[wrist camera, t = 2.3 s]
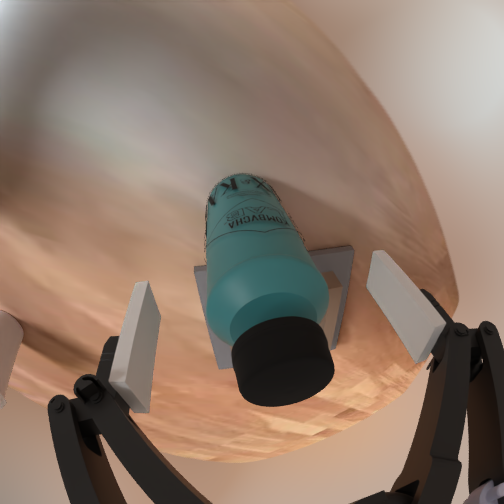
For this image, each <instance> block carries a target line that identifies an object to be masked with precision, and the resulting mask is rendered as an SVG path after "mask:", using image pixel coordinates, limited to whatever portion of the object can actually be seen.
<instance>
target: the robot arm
mask: <svg viewBox="0 0 504 504" xmlns="http://www.w3.org/2000/svg"><path fill="white" fill-rule="evenodd" d="M366 288H367V289H368V291H369V292H370V294H371V295H372V297H373V298H374V299H375V301H376V302H377V304H378V305H379V307H380V308H381V310H382V311H383V313H384V314H385V316H386V317H387V319H388V320H389V322H390V323H391V325H392V327H393V328H394V330H395V331H396V333H397V334H398V336H399V338H400V339H401V341H402V342H403V344H404V346H405V347H406V349H407V350H408V352H409V354H410V355H411V357H412V359H413V360H414V362H415V364H417V363H419V362H422V361H424V360H427V358H428V356H429V354H430V353H432V354H433V356H434V357H433V359H432V360H431V362H430V363H429V365H428V367H427V370H428V369H429V368H430V373H429V378H428V384H427V389H426V393H425V398H424V402H423V407H422V410H421V414H420V418H419V422H418V426H417V429H416V432H415V436H414V439H413V442H412V445H411V448H410V451H409V454H408V458H407V460H406V463H405V465H404V468H403V471H402V473H401V474H400V475H399V477H398V478H397V479H396V481H395V483H394V485H393V487H392V489H391V491H390V492H385V491H381V492H379V493H376V494H373V495H371V496H368V497H366V498H363V499H360V500H358V501H355V502H353V503H350V504H451V501H452V499H453V496H454V493H455V490H456V486H457V483H458V479H459V476H460V472H461V467H462V464H461V462H460V461H459V460H458V454H459V450H460V445H461V440H462V435H463V430H464V423H465V417H466V410H467V416H468V434H469V469H468V485H469V494H470V495H469V497H468V499H466V500H465V502H464V503H463V504H504V349H503V345H502V342H501V339H500V336H499V333H498V330H497V328H496V326H495V325H494V324H492V323H491V322H488V321H483V322H482V323H481V324H480V325H479V328H478V329H477V328H476V329H468V328H467V327H466V326H465V325H464V324H462V323H454V322H453V320H452V319H451V318H450V316H449V315H448V314H447V313H446V311H445V310H444V309H443V308H442V307H441V306H440V304H439V303H438V302H437V301H436V299H435V298H434V297H433V296H432V295H431V294H430V293H429V292H427V291H426V290H424V289H420V290H419V289H418V287H417V286H416V285H415V284H414V283H413V282H412V281H411V279H410V278H409V277H408V276H407V275H406V274H405V273H404V271H403V270H402V269H401V268H400V267H399V266H398V265H397V264H396V263H395V262H394V260H393V259H392V258H391V257H390V256H389V255H388V254H387V253H386V252H385V251H384V250H377V251H373V254H372V260H371V265H370V270H369V275H368V280H367V285H366ZM160 320H161V315H160V312H159V310H158V307H157V304H156V302H155V299H154V296H153V293H152V290H151V287H150V284H149V281H142V282H136V283H135V286H134V289H133V292H132V296H131V299H130V302H129V305H128V309H127V312H126V315H125V319H124V322H123V326H122V329H121V333H120V336H110V338H109V339H108V340H107V342H106V343H105V345H104V348H103V351H102V355H101V358H100V360H101V361H100V362H99V366H98V369H97V373H96V376H95V375H92V374H85V375H83V376H81V377H80V378H79V379H78V380H77V381H76V383H75V384H74V393H75V395H76V396H77V397H78V398H75V399H71V400H69V399H68V398H67V397H65V396H64V395H56V396H54V397H53V398H52V399H51V400H50V401H49V404H48V416H49V422H50V428H51V433H52V439H53V443H54V448H55V452H56V457H57V461H58V464H59V468H60V472H61V476H62V479H63V482H64V485H65V489H66V491H67V495H68V497H69V500H70V503H71V504H127V503H126V501H125V499H124V497H123V494H122V492H121V490H120V488H119V486H118V484H117V481H116V479H115V477H114V474H113V472H112V469H111V467H110V464H109V462H108V459H107V456H106V454H105V451H104V448H103V445H102V442H101V439H100V436H99V434H102V435H103V437H104V438H105V440H106V441H107V443H108V444H109V446H110V447H111V449H112V450H113V452H114V453H115V455H116V456H117V457H118V459H119V460H120V462H121V463H122V464H123V466H124V467H125V468H126V470H127V471H128V472H129V474H130V475H131V476H132V477H133V479H134V480H135V481H136V482H137V484H138V485H139V486H140V487H141V488H142V489H143V491H144V492H145V493H146V494H147V496H148V497H149V498H150V499H151V500H152V501H153V502H154V503H155V504H212V503H211V502H210V501H209V500H207V499H206V498H205V497H204V496H203V495H202V494H201V493H199V491H197V490H196V489H195V488H194V487H193V486H192V485H191V484H190V483H189V482H188V481H187V480H186V479H185V478H184V477H183V476H182V475H181V474H180V473H179V472H178V471H177V470H176V469H175V468H174V467H173V466H172V465H171V464H170V463H169V462H168V461H167V460H166V459H165V458H164V456H163V455H162V454H161V453H160V452H159V451H158V450H157V448H156V447H155V446H154V445H153V444H152V443H151V441H150V440H149V439H148V438H147V437H146V435H145V434H144V433H143V432H142V431H141V429H140V428H139V427H138V426H137V424H136V423H135V422H134V420H133V419H132V418H131V416H130V415H129V408H131V410H132V411H133V412H134V413H149V409H150V398H151V388H152V379H153V370H154V362H155V354H156V347H157V340H158V333H159V326H160ZM482 359H483V363H482ZM430 366H431V367H430Z"/></svg>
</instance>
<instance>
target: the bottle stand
mask: <svg viewBox="0 0 504 504" xmlns="http://www.w3.org/2000/svg"><path fill="white" fill-rule="evenodd" d="M308 253H309V255H310V257H311V259H312V260H313V262H314V264H315V266H316V268H317V269H318V270H319V271H320V273H321V274H322V276H323V277H324V279H325V281H326V283H327V286H328V290H329V305H328V309H327V311H326V313H325V315H324V317H323V319H322V321H321V322H320V324H319V325H320V326H321V328H322V329H323V331H324V333H325V336H326V338H327V341H328V347H329V350H333V349H335V348H336V344H337V340H338V336H339V331H340V327H341V322H342V317H343V313H344V308H345V303H346V298H347V292H348V287H349V281H350V275H351V269H352V263H353V256H354V249H353V248H352V246H344V247H337V248H330V249H322V250H315V251H308ZM194 274H195V278H196V283H197V287H198V291H199V295H200V300H201V304H202V308H203V312H204V316H205V320H206V324H207V328H208V331H209V335H210V339H211V343H212V346H213V350H214V354H215V357H216V361H217V365H218V368H219V369H227V368H233V365H232V358H231V351H232V346H230V345H228V344H226V343H225V342H223V341H222V340H220V339H219V338H218V337H217V336H216V335H215V333H214V332H213V331H212V330H211V328H210V326H209V324H208V321H207V317H206V302H207V265H204V266H196V267H194Z"/></svg>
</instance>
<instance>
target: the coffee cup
mask: <svg viewBox="0 0 504 504" xmlns="http://www.w3.org/2000/svg"><path fill="white" fill-rule="evenodd" d="M23 336H24V332H23V329H22V327H21V326H20V324H19V323H18V322H17V320H16V319H15V318H14V317H12V316H11V315H10V314H8V313H6V312H4V311H0V409H1V408H3V407H4V406H5V405H6V400H5V394H6V390H7V386H8V382H9V379H10V375H11V372H12V369H13V365H14V362H15V359H16V356H17V353H18V350H19V347H20V344H21V342H22V339H23Z"/></svg>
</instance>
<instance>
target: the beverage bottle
mask: <svg viewBox="0 0 504 504" xmlns="http://www.w3.org/2000/svg"><path fill="white" fill-rule="evenodd" d="M252 175H253V174H252ZM252 175H247V173H239V174H238V175H235V174H234V175H233V176H231V175H230V177H229V176H228V178H226V179H224V180H223V179H222V181H221V182H220V183H219V182H218V183H219V184H218V183H217V184H218V185H217V186H216V187H215V186H214V187H215V188H214V187H213V188H214V189H213V190H212V192H211V195H210V197H209V199H208V211H207V205H206V214H205V221H206V233H205V234H206V238H207V243H206V247H205V248H206V259H207V302H206V317H207V321H208V324H209V326H210V328H211V330H212V331H213V332H214V333H215V335H216V336H217V337H218V338H219V339H220V340H222V341H223V342H225V343H226V344H228V345H230V346H232V351H231V358H232V365H233V369H234V371H235V374H236V378H237V382H238V387H239V391H240V393H241V394H242V396H243V397H244V399H246V400H247V401H248V402H250V403H252V404H255V405H259V406H266V407H277V406H285V405H290V404H294V403H297V402H300V401H303V400H305V399H308V398H310V397H312V396H314V395H315V394H317V393H318V392H320V391H321V390H323V389H324V388H325V387H326V386H327V385H328V384H329V383H330V381H331V380H332V378H333V375H334V371H335V370H334V363H333V360H332V357H331V354H330V350H329V347H328V341H327V338H326V336H325V333H324V331H323V329H322V328H321V326H320V325H319V324H320V322H321V321H322V319H323V317H324V315H325V313H326V311H327V309H328V305H329V290H328V286H327V283H326V281H325V279H324V277H323V276H322V274H321V273H320V271H319V270H318V269H317V268H316V266H315V264H314V262H313V260H312V259H311V257H310V255H309V253H308V251H307V250H306V248H305V246H304V244H303V241H302V239H301V238H300V236H299V234H298V231H296V228H295V227H296V226H295V227H294V226H293V224H294V225H295V223H293V222H291V221H290V220H291V219H289V217H290V216H289V217H288V216H287V214H286V212H285V211H284V209H283V207H282V206H281V204H280V202H279V201H281V200H280V198H279V197H278V195H277V194H276V193H275V194H276V195H277V197H278V198H279V201H278V198H277V197H276V196H275V194H274V193H273V191H274V190H273V189H272V188H273V187H271V185H269V184H267V183H266V180H264V181H265V182H264V181H263V178H262V179H261V178H259V177H255V176H252ZM269 186H270V187H271V188H270V187H269ZM272 190H273V191H272ZM274 192H275V191H274ZM209 194H210V193H209ZM206 204H207V203H206ZM288 214H289V213H288ZM206 215H207V216H206ZM206 218H207V220H206ZM290 218H291V217H290ZM292 223H293V224H292ZM297 228H298V227H297ZM299 233H300V234H301V232H299ZM301 235H302V234H301ZM204 239H205V237H204ZM303 239H304V238H303ZM205 241H206V240H205ZM205 241H204V242H205ZM304 241H305V240H304ZM204 245H205V244H204ZM205 248H204V249H205ZM205 262H206V261H205Z"/></svg>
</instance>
